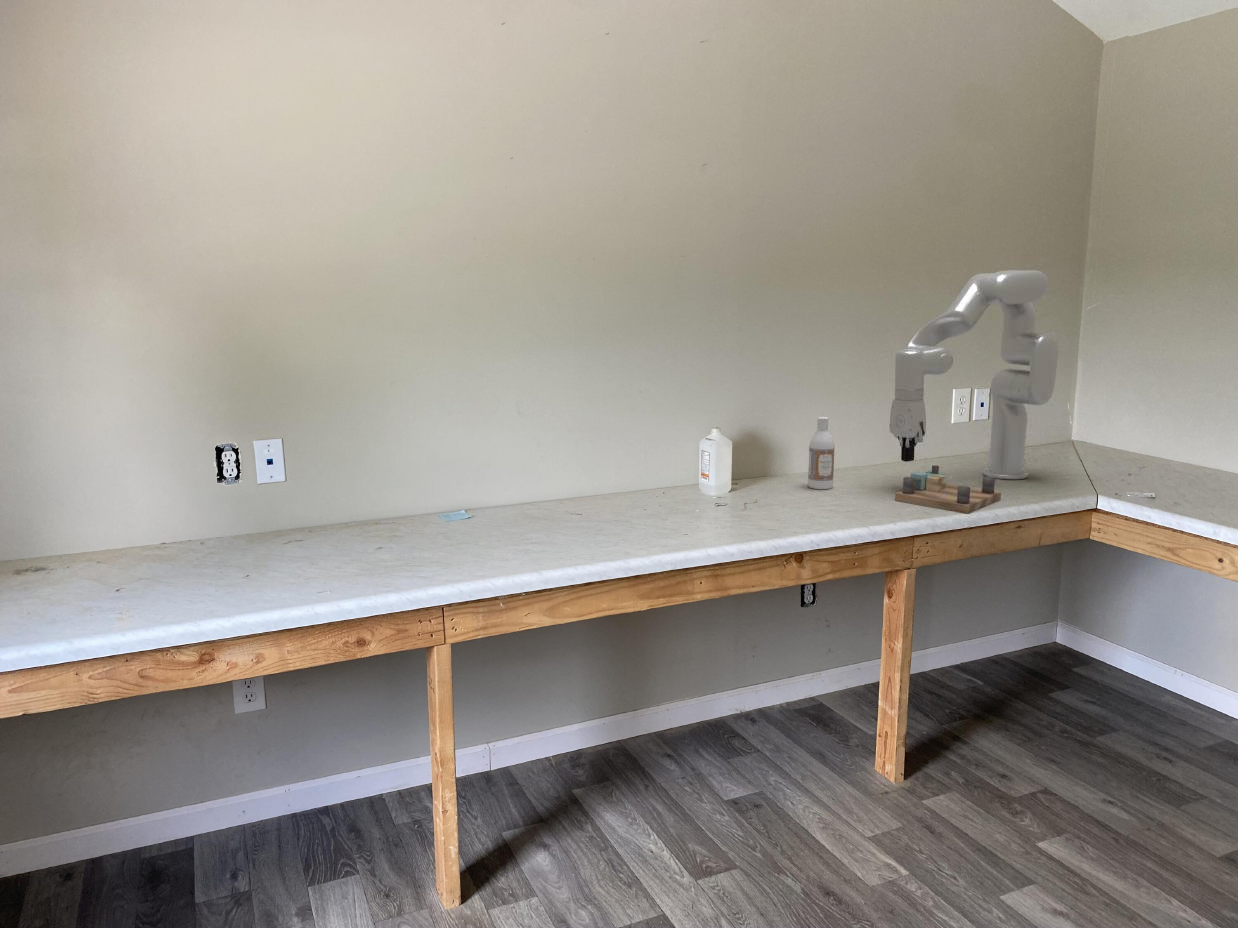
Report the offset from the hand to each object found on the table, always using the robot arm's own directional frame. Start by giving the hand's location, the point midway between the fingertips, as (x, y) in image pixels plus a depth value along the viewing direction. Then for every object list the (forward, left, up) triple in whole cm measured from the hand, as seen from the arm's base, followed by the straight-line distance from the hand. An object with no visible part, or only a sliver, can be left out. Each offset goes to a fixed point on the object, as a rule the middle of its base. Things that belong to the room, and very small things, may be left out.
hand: (907, 460), depth 253 cm
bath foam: (+12, -20, -9) cm, 25 cm away
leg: (0, +6, -6) cm, 8 cm away
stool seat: (+2, +13, -9) cm, 16 cm away
